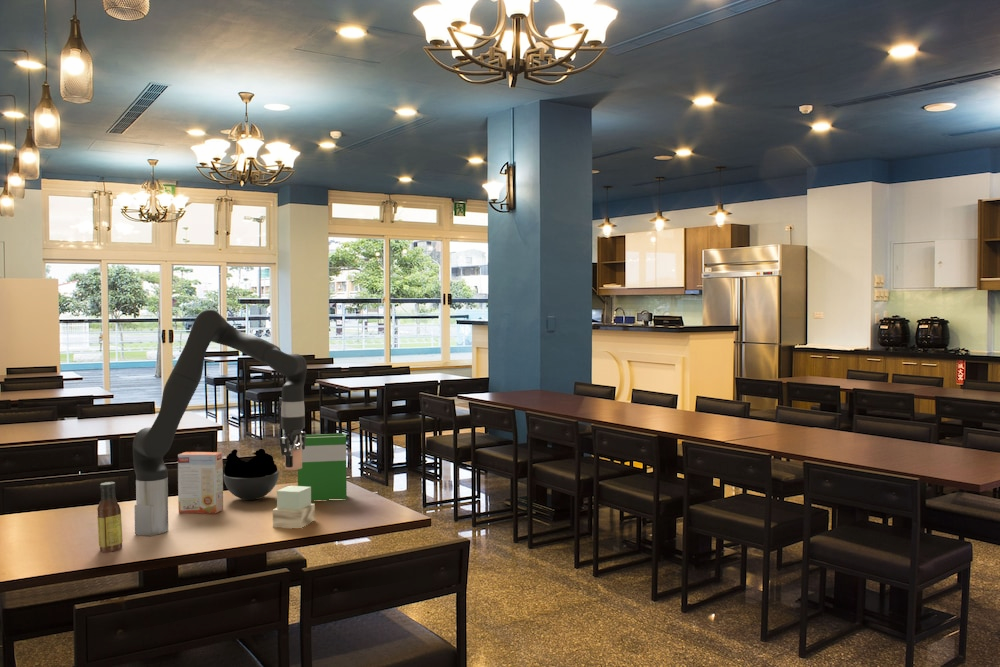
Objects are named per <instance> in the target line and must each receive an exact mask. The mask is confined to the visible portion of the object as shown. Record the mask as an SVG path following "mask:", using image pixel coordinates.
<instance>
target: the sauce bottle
mask: <svg viewBox="0 0 1000 667" xmlns="http://www.w3.org/2000/svg"><path fill="white" fill-rule="evenodd" d="M99 489H100V501H99V503H98V505H97V508H96V510H97V530H98V547H99V551H100V552H101V551H103V552H102V553H111V551H112V552H117V551H119V550H120V549H122V548H123V525H122V523H123V522H122V510H121V507H120V504H119V503H118V500H117V498H116V482H115V481H105V482H101V483H100V484H99ZM116 550H117V551H116Z"/></svg>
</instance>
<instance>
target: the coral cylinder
mask: <svg viewBox="0 0 1000 667" xmlns="http://www.w3.org/2000/svg"><path fill="white" fill-rule="evenodd" d="M292 456H293V467H291V468H290V467H286V457H285V456H284V470H288V471H296V470H297V471H298V469H301V468H302V449H294V450H293V455H292Z"/></svg>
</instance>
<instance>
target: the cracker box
mask: <svg viewBox="0 0 1000 667" xmlns="http://www.w3.org/2000/svg"><path fill="white" fill-rule="evenodd" d="M223 460H224V459H223V452H219V451H213V452H212V451H185V452H182V453H178V454H177V482H178V483H177V490H178V491H177V492H178V493H177V494H178V500H177V501H178V503H177V504H178V513H179V514H184V513H185V514H213V513H215V514H217V513H219V512H221V511H223V510H224V478H223V475H224V472H223V470H224V465H223V464H224V462H223Z"/></svg>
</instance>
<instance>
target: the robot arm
mask: <svg viewBox="0 0 1000 667" xmlns="http://www.w3.org/2000/svg"><path fill="white" fill-rule="evenodd" d="M211 342H212V343H215V344H219V345H221V346H225V347H229V348H232V349H234V350H237V351H238V352H240V353H242V354H245V355H246V356H249V357H250V358H252V359H255V360H256V361H258V362H260V363H262V364H264V365H266V366H269V367H270V368H271V369H272V370H274V371H275V372H276V373H278V374H280V375H282V376H285V377H286V381H285V383H284V384H283V385H282V387H281V407H280V408H281V409H280V410H281V411H280V416H281V419H280V420H281V422H280V424H281V426H280V427H281V430H284V431H285V433H284V436H283V437H279V444H280V454H281V456H284V458H285V457H286V467H290V468H291V467H293V456H292V455H293V450H294V449H302V451H303V449H305V440H306V435H307V432H306V431H302V430H304V429H305V427H306V418H305V417H306V416H305V415H306V414H305V413H306V412H305V411H306V410H305V409H306V408H305V407H306V406H305V401H304V400H305V391H304V386H305V383H306V377H307V372H308V365H307V360H306V358H305V357H304V356H303V355H301V354H297V353H294V354H288V353H286V352H284V351H282V350H281V347H279V346H278V345H277V344H276V345H275V344H274V343H271V342H269V341H268V340H265V339H264V338H261V337H258V336H255V335H251V334H248V333H245V332H243V331H240V330H238V329H237V328H236V327H234V326H233V325H231V324H230V323H229V322H228V321H227V320H226V319H225V317H223V316H222V315H221V314H220V313H219V312H218V311H217V310H214V309H204V310H203V311H202V310H201V312H199V314H198V315H197V316H196V317H195V319H194V321H193V324H192V326H191V329H190V332H189V334H188V338H187V340H186V343H185V344H184V347H183V348H182V351H181V353H180V355H179V357H178V359H177V361H176V363H175V365H174V367H173V369H172V370H171V372H170V375H169V376H168V379H167V381H166V383H165V385H164V388H163V391H162V396H161V404H160V409H159V411H158V414H157V417H156V418H155V420H154V422H153V424H152V425H151V427H144V428H142V429H140V430H138V431H137V432H136V434H135V435H134V437H133V441H132V458H133V460H132V462H133V469H134V473H135V481H136V482H135V486H136V488H135V490H136V491H135V492H136V493H135V494H136V496H135V498H136V504H135V505H134V535H135V534H137V535H136V536H146V535H149V536H150V537H152V535H153V536H155V535H159V534H160V535H161V534H163V533H167V532H168V531H169V487H168V486H169V485H168V484H169V480H168V479H169V477H168V476H169V475H168V474H169V473H168V468H167V466H166V464H165V462H164V461H165V460H164V456H165V455H166V454H167V453H168V452H169V450H170V449H171V446H172V444H173V441H174V438H175V437H176V436H175V435H176V432H177V430H178V428H179V424H180V423H181V420H182V418H183V416H184V414H185V412H186V411H187V408H188V406H189V404H190V403H191V400H192V398H193V396H194V395H195V392H196V390H197V388H198V387H199V384H200V383H201V379H202V376H203V370H204V363H205V362H204V361H205V356H206V353H207V350H208V348H209V346H210V344H211ZM301 438H302V439H301ZM166 531H167V532H166ZM149 536H148V537H149Z"/></svg>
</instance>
